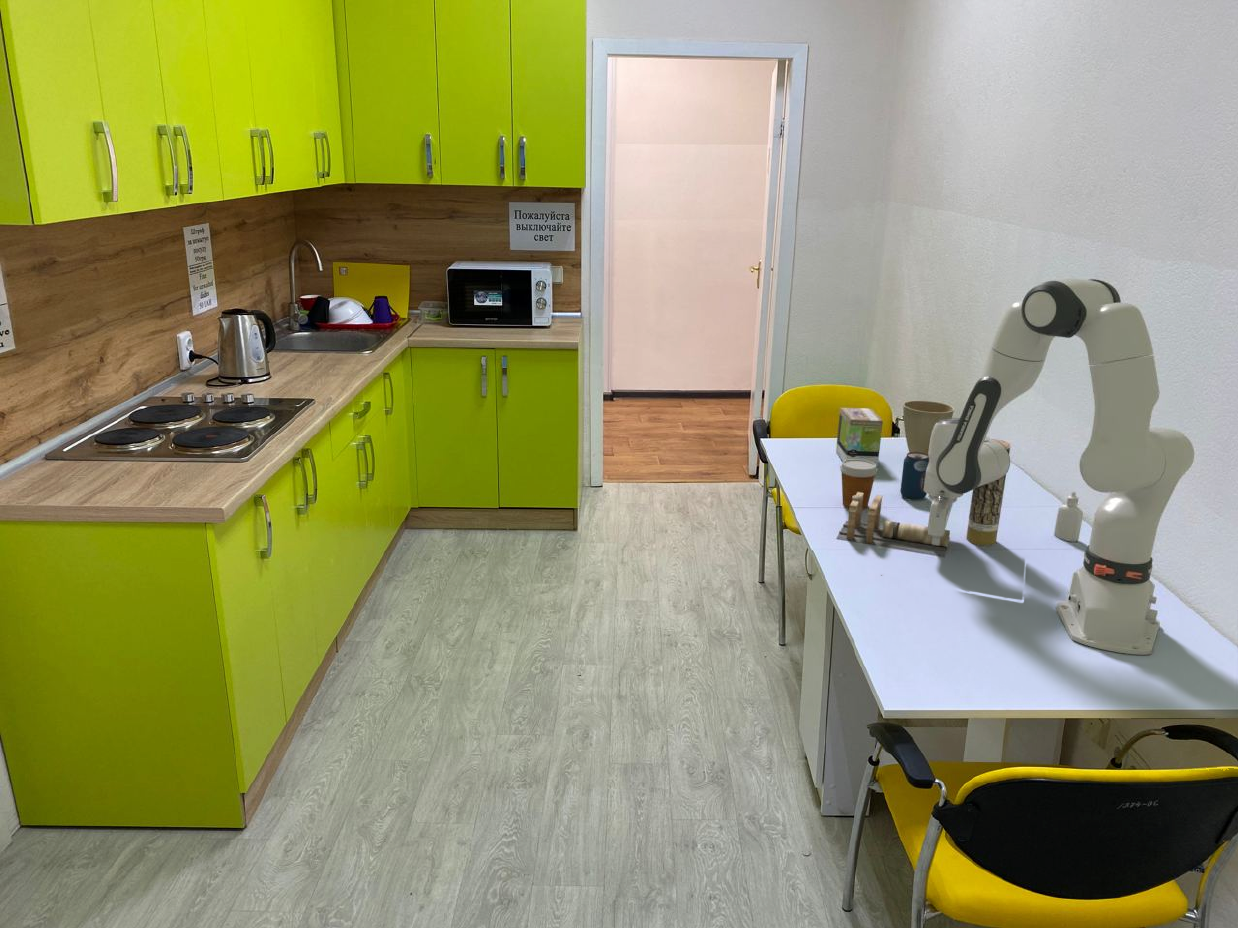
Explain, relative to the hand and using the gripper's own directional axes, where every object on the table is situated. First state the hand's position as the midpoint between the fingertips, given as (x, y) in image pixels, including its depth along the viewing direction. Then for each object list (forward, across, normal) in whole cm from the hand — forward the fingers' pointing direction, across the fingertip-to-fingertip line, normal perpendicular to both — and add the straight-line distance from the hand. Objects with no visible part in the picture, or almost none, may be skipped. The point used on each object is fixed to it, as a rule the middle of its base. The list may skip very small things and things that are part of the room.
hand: (936, 540), depth 227 cm
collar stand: (+2, 0, +10) cm, 10 cm away
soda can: (+2, +34, +10) cm, 35 cm away
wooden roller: (+1, 0, +5) cm, 5 cm away
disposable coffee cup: (+2, +19, +22) cm, 29 cm away
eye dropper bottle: (+2, +20, -28) cm, 35 cm away
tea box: (+2, +61, +30) cm, 68 cm away
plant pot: (+2, +74, +12) cm, 75 cm away
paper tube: (+2, +8, -10) cm, 13 cm away
